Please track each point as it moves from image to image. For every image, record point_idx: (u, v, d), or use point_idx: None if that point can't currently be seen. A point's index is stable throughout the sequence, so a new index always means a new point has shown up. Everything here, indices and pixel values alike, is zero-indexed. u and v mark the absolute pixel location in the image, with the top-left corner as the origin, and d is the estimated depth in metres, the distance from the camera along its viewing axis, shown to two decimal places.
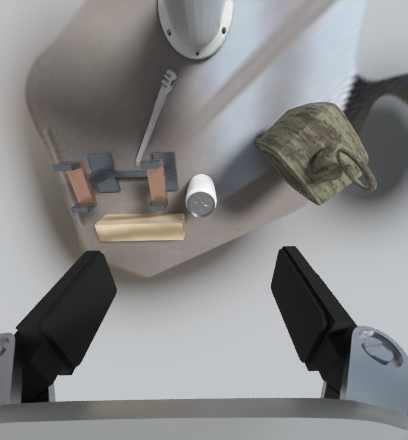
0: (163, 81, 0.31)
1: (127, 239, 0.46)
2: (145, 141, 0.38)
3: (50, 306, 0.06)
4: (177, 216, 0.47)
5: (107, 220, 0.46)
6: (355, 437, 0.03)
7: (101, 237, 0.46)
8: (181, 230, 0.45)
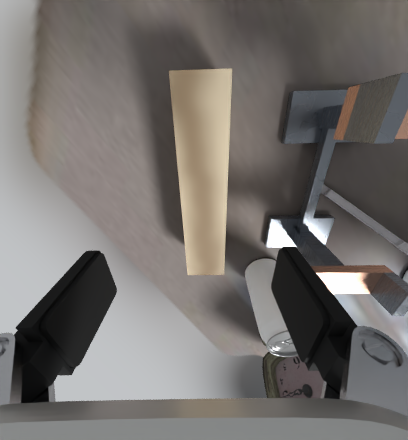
0: None
1: (181, 164, 0.17)
2: (360, 216, 0.24)
3: (49, 306, 0.06)
4: None
5: None
6: (355, 437, 0.03)
7: (185, 79, 0.14)
8: (208, 273, 0.24)
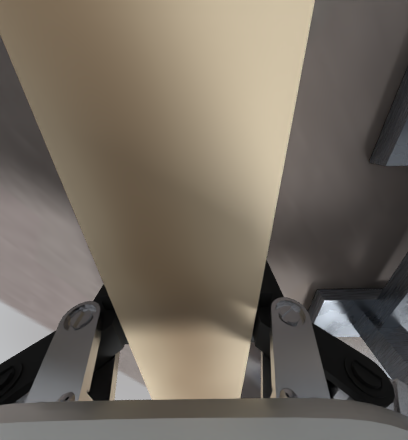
0: None
1: (107, 254, 0.05)
2: None
3: None
4: None
5: None
6: (355, 437, 0.03)
7: None
8: None
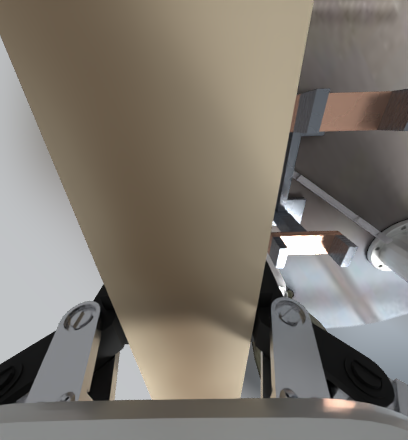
0: (385, 237, 0.29)
1: (107, 253, 0.05)
2: (325, 197, 0.29)
3: None
4: None
5: None
6: (355, 437, 0.03)
7: None
8: None
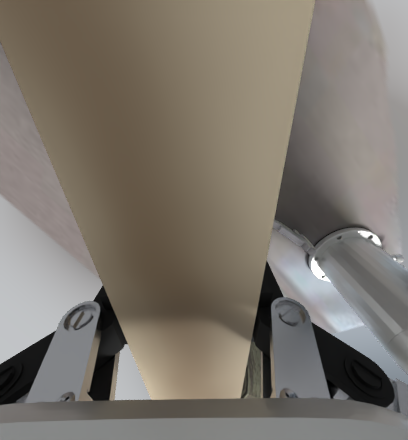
0: (308, 248, 0.27)
1: (106, 254, 0.05)
2: None
3: None
4: None
5: None
6: (355, 437, 0.03)
7: None
8: None
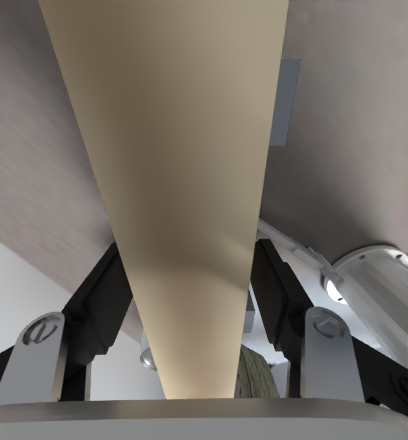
0: None
1: (125, 230, 0.06)
2: None
3: (90, 289, 0.07)
4: None
5: None
6: (355, 437, 0.03)
7: None
8: (204, 396, 0.13)
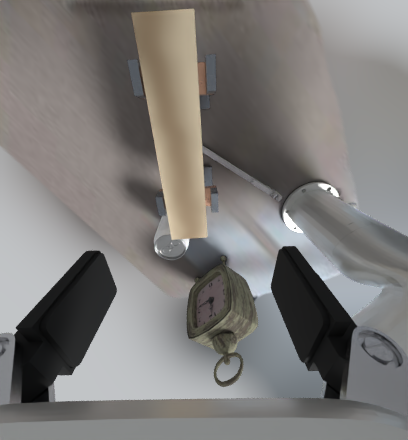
0: (276, 195, 0.34)
1: (154, 117, 0.17)
2: (223, 163, 0.34)
3: (49, 306, 0.06)
4: None
5: None
6: (355, 437, 0.03)
7: (148, 22, 0.14)
8: (191, 236, 0.25)
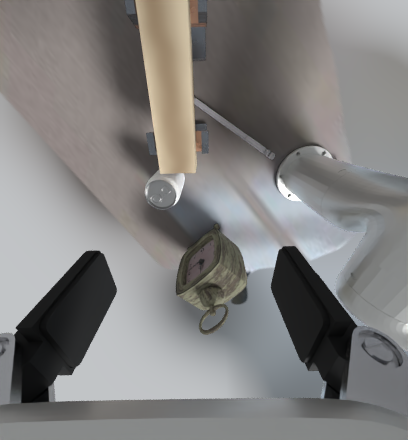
0: (269, 151, 0.34)
1: (143, 26, 0.18)
2: (218, 118, 0.34)
3: (49, 306, 0.06)
4: None
5: None
6: (355, 437, 0.03)
7: None
8: (180, 170, 0.25)
